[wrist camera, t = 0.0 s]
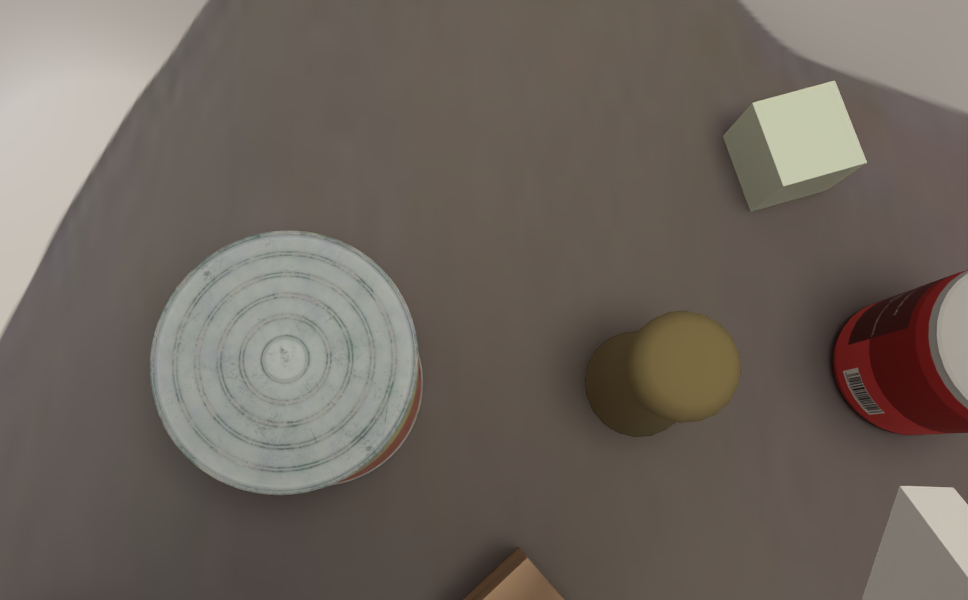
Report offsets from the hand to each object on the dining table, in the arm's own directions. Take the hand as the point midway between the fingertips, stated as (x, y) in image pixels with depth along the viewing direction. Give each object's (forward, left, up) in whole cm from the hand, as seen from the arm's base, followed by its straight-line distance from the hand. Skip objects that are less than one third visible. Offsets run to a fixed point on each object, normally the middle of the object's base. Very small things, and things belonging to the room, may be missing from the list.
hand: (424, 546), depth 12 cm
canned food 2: (-6, -27, -36) cm, 45 cm away
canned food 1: (+8, +3, -36) cm, 37 cm away
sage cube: (+8, -27, -36) cm, 46 cm away
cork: (0, -13, -36) cm, 38 cm away
